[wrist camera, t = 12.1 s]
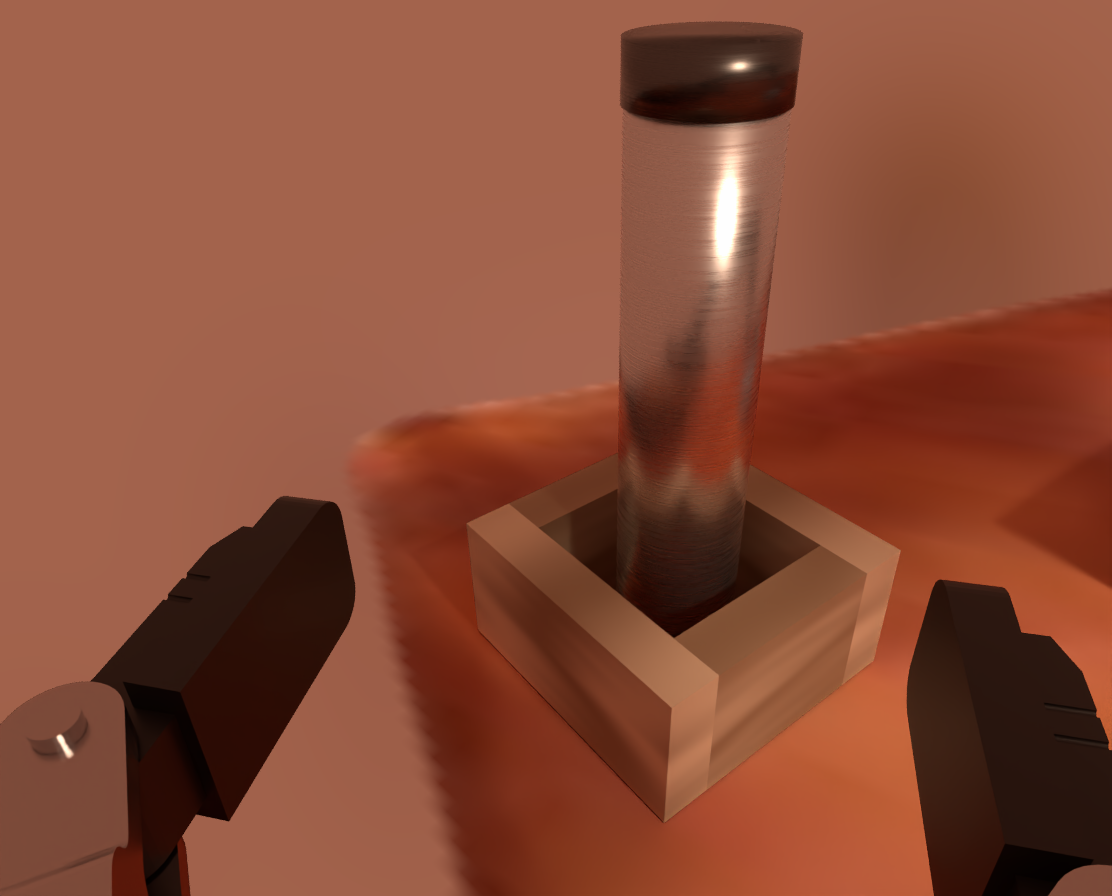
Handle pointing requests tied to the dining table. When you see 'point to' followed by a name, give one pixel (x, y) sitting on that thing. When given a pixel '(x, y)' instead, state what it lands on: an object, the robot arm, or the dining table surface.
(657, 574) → the pin
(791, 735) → the dining table surface
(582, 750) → the dining table surface
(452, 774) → the dining table surface
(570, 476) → the wooden square box frame
